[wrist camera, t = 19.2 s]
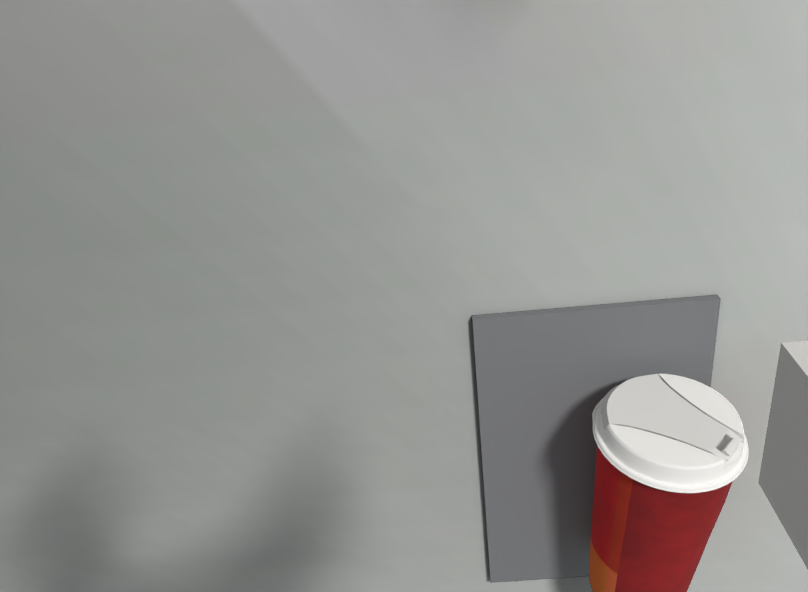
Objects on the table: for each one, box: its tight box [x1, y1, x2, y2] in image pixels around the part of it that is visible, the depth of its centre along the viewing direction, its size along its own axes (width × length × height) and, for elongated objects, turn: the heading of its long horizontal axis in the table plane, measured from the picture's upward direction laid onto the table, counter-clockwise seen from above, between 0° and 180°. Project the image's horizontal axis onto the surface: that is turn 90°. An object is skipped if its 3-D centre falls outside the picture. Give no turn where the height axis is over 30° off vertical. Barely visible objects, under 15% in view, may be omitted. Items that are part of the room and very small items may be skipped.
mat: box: [472, 295, 720, 583], centre depth 49 cm, size 14×22×1 cm, turn 6°
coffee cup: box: [589, 374, 748, 592], centre depth 46 cm, size 8×8×15 cm
